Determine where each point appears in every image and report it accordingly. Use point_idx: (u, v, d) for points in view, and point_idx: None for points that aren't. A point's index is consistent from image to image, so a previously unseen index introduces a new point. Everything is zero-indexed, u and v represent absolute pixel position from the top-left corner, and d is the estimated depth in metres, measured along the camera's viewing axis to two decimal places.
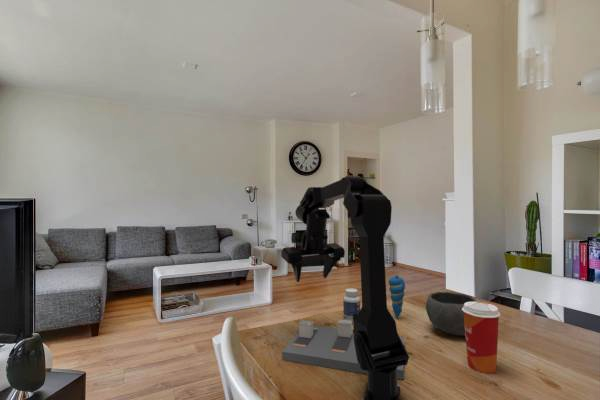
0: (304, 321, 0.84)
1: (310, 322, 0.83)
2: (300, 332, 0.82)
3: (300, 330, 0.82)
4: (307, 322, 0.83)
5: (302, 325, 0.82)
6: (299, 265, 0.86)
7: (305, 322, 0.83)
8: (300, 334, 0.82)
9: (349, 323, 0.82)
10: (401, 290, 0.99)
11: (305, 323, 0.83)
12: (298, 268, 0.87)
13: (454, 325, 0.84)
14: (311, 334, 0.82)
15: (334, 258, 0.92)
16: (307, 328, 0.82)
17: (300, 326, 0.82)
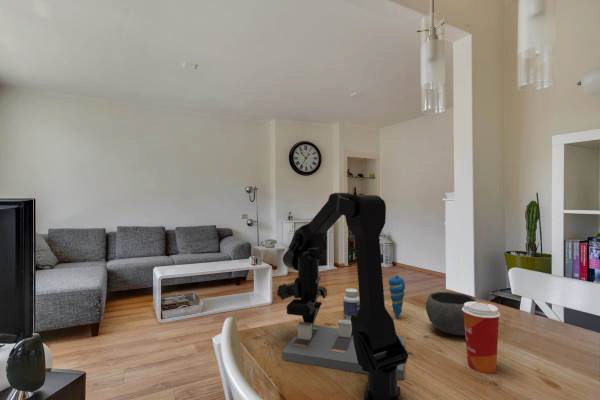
0: (303, 323, 0.83)
1: (309, 324, 0.82)
2: (299, 334, 0.81)
3: (299, 332, 0.81)
4: (306, 323, 0.82)
5: (301, 327, 0.81)
6: (317, 310, 0.83)
7: (304, 324, 0.82)
8: (299, 336, 0.81)
9: (349, 323, 0.82)
10: (401, 290, 0.99)
11: (304, 325, 0.81)
12: (315, 313, 0.83)
13: (454, 325, 0.84)
14: (310, 336, 0.81)
15: (317, 304, 0.86)
16: (305, 329, 0.81)
17: (299, 328, 0.81)
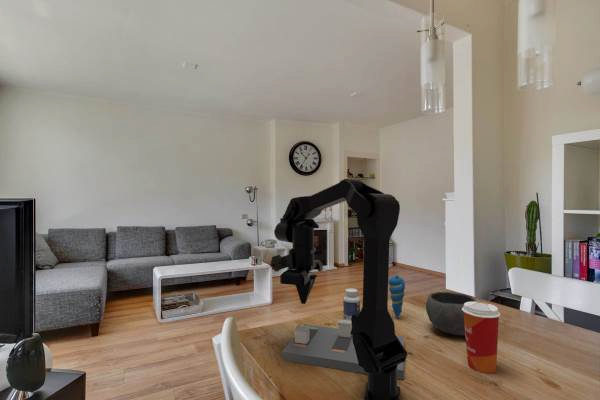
0: (300, 326, 0.81)
1: (306, 327, 0.80)
2: (296, 337, 0.79)
3: (296, 335, 0.79)
4: (303, 327, 0.80)
5: (298, 330, 0.79)
6: (312, 281, 0.79)
7: (301, 327, 0.80)
8: (296, 340, 0.79)
9: (349, 323, 0.82)
10: (401, 290, 0.99)
11: (301, 328, 0.79)
12: (310, 285, 0.79)
13: (454, 325, 0.84)
14: (307, 340, 0.79)
15: (312, 276, 0.83)
16: (302, 333, 0.79)
17: (296, 331, 0.79)
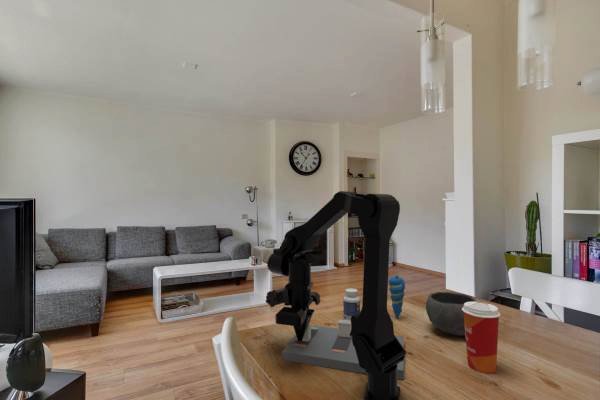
0: None
1: (308, 325, 0.81)
2: None
3: None
4: None
5: None
6: (309, 318, 0.76)
7: None
8: None
9: (349, 323, 0.82)
10: (401, 290, 0.99)
11: None
12: (307, 322, 0.76)
13: (454, 325, 0.84)
14: (309, 337, 0.80)
15: (309, 311, 0.79)
16: None
17: None
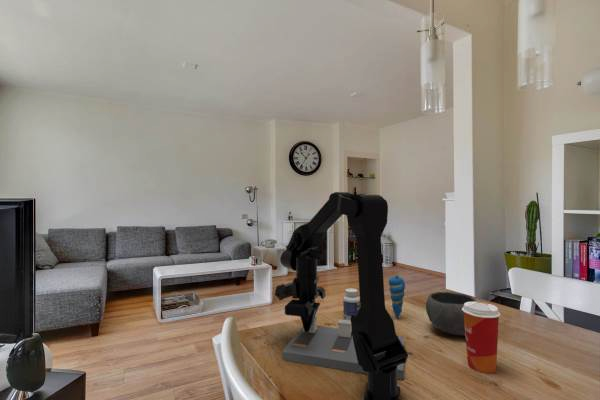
0: None
1: (314, 317, 0.87)
2: None
3: None
4: None
5: None
6: (315, 310, 0.82)
7: None
8: None
9: (349, 323, 0.82)
10: (401, 290, 0.99)
11: None
12: (314, 314, 0.82)
13: (454, 325, 0.84)
14: (315, 329, 0.86)
15: (315, 304, 0.85)
16: None
17: None
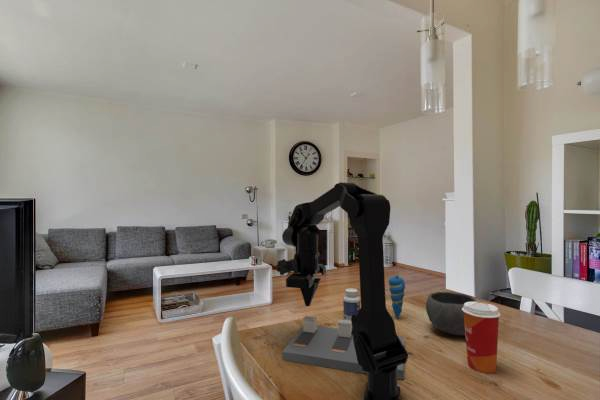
0: (308, 316, 0.87)
1: (314, 317, 0.87)
2: (304, 327, 0.86)
3: (304, 325, 0.86)
4: (311, 317, 0.87)
5: (306, 320, 0.86)
6: (316, 284, 0.83)
7: (309, 317, 0.87)
8: (304, 329, 0.86)
9: (349, 323, 0.82)
10: (401, 290, 0.99)
11: (309, 318, 0.86)
12: (314, 288, 0.83)
13: (454, 325, 0.84)
14: (315, 329, 0.86)
15: (316, 279, 0.86)
16: (310, 323, 0.85)
17: (304, 321, 0.86)
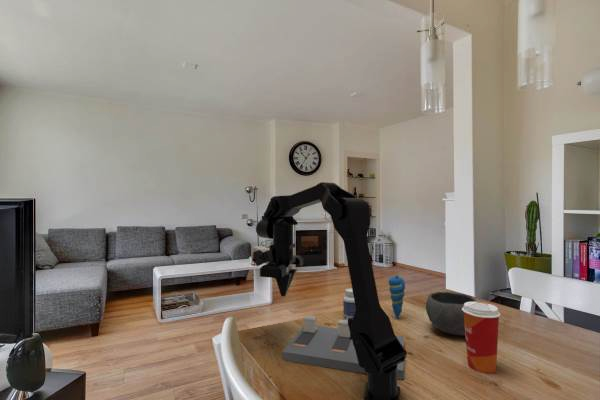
0: (308, 316, 0.87)
1: (314, 317, 0.87)
2: (304, 327, 0.86)
3: (304, 325, 0.86)
4: (311, 317, 0.87)
5: (306, 320, 0.86)
6: (290, 275, 0.84)
7: (309, 317, 0.87)
8: (304, 329, 0.86)
9: None
10: (401, 290, 0.99)
11: (309, 318, 0.86)
12: (289, 278, 0.84)
13: (454, 325, 0.84)
14: (315, 329, 0.86)
15: (292, 270, 0.88)
16: (310, 323, 0.85)
17: (304, 321, 0.86)
